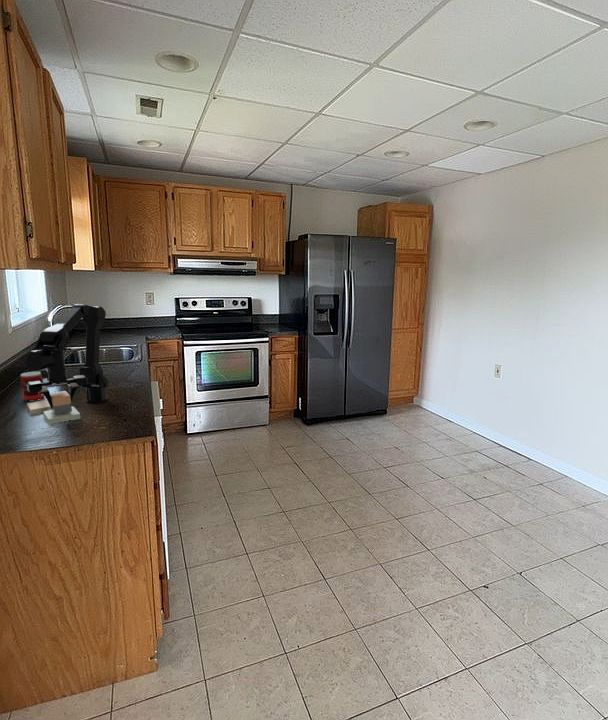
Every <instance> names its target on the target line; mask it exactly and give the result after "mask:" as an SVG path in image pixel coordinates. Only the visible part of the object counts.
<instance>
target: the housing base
mask: <svg viewBox="0 0 608 720" xmlns="http://www.w3.org/2000/svg"><path fill="white" fill-rule="evenodd" d="M51 410H52V411H53V413H54V414H60V413H65V412H71V411H72V403H71V404H65V405H59V406H53V405H52V408H51Z"/></svg>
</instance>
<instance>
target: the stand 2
mask: <svg viewBox="0 0 608 720" xmlns="http://www.w3.org/2000/svg"><path fill="white" fill-rule="evenodd" d="M71 407H72V411H71V412H65V413H60V414H54V413H53V411H52V410H48V411H43V413H42V414H43V418H44V417H45V418H44V419H45V421H46V420H47V421H46V422H47V424H48V423H49V424H50V425H55V424H54V423H56V424H60V423H59V422H61V423H64V421H66V422H70V421H69V420H71V421H75V420H81V413H80V412H79V411H78V410H77V409H76V407H75V406H72V405H71ZM49 424H48V425H49Z"/></svg>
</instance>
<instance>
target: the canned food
mask: <svg viewBox="0 0 608 720" xmlns="http://www.w3.org/2000/svg"><path fill="white" fill-rule="evenodd" d="M34 381H40V382H41V383H44V379H41V375H40V371H28V372H23V373H21V374H20V384H21V390H22V398H23V400H24V401H25V400H37V401H39V400H38V399H41V400H43V399H44V398H45V396H44V394H40V393H39V392H34V393H29V391H28V390H27V383H28V382H34ZM42 398H43V399H42Z"/></svg>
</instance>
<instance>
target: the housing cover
mask: <svg viewBox="0 0 608 720" xmlns="http://www.w3.org/2000/svg"><path fill="white" fill-rule="evenodd" d="M49 393H50V397H51V401H52V405H53V406H59V405H65V404H71V405H72V402H71V398H70V395H69V394H68V392H67V391H66V390H62V391H55V392H49Z"/></svg>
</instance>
